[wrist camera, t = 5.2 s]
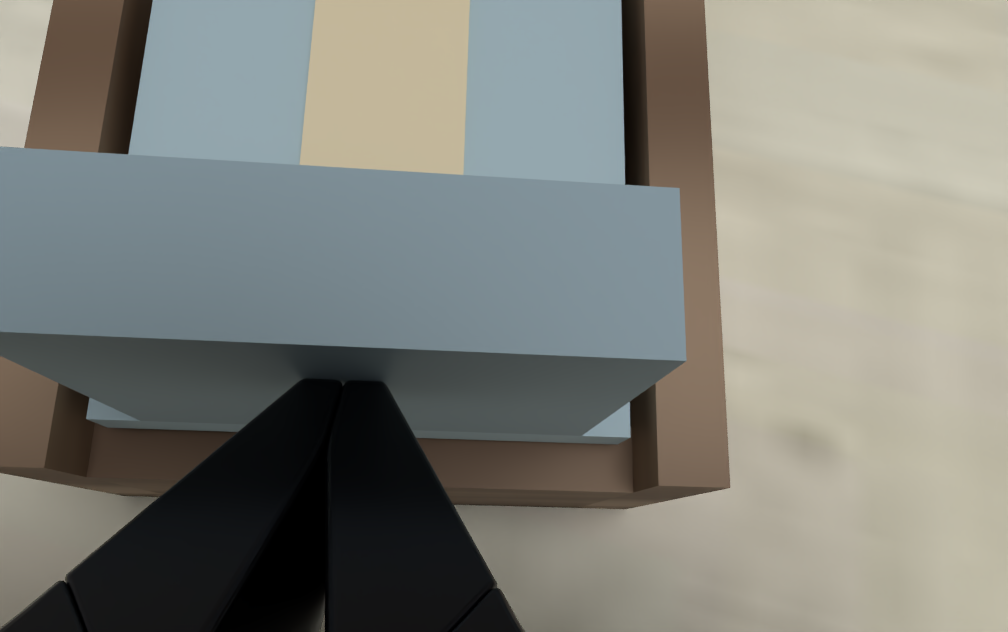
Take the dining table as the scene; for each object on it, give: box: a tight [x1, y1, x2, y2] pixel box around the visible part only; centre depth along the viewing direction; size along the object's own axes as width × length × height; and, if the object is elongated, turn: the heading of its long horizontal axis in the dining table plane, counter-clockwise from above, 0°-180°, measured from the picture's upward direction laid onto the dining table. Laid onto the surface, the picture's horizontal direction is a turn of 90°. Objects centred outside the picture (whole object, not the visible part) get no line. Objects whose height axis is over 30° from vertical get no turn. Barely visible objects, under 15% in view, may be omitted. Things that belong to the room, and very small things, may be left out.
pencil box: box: [0, 0, 730, 509], centre depth 15 cm, size 12×10×6 cm
